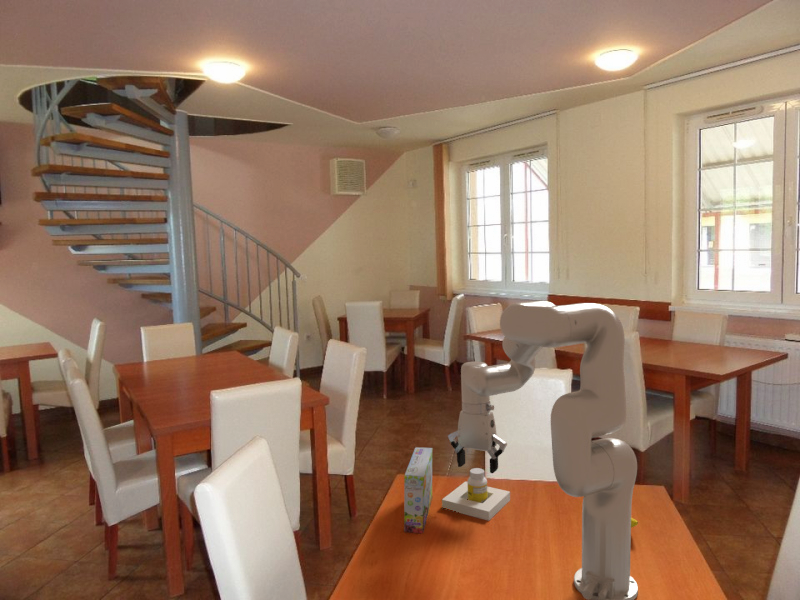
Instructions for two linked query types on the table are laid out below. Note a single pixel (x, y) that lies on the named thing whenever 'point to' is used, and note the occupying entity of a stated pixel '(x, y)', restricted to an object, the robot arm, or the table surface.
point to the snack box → (418, 490)
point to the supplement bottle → (477, 486)
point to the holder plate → (480, 510)
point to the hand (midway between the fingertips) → (477, 468)
